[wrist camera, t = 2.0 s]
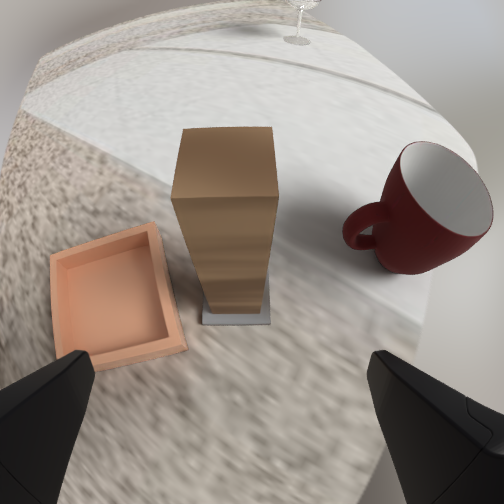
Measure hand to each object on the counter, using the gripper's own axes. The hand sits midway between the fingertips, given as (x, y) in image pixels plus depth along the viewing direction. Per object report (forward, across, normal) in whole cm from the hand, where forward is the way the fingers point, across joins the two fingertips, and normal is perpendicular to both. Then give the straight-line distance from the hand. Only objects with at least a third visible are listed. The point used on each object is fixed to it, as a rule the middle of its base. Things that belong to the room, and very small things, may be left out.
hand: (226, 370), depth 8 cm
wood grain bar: (+14, 0, +4) cm, 15 cm away
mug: (+16, -13, +2) cm, 21 cm away
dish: (+13, +10, +5) cm, 17 cm away
